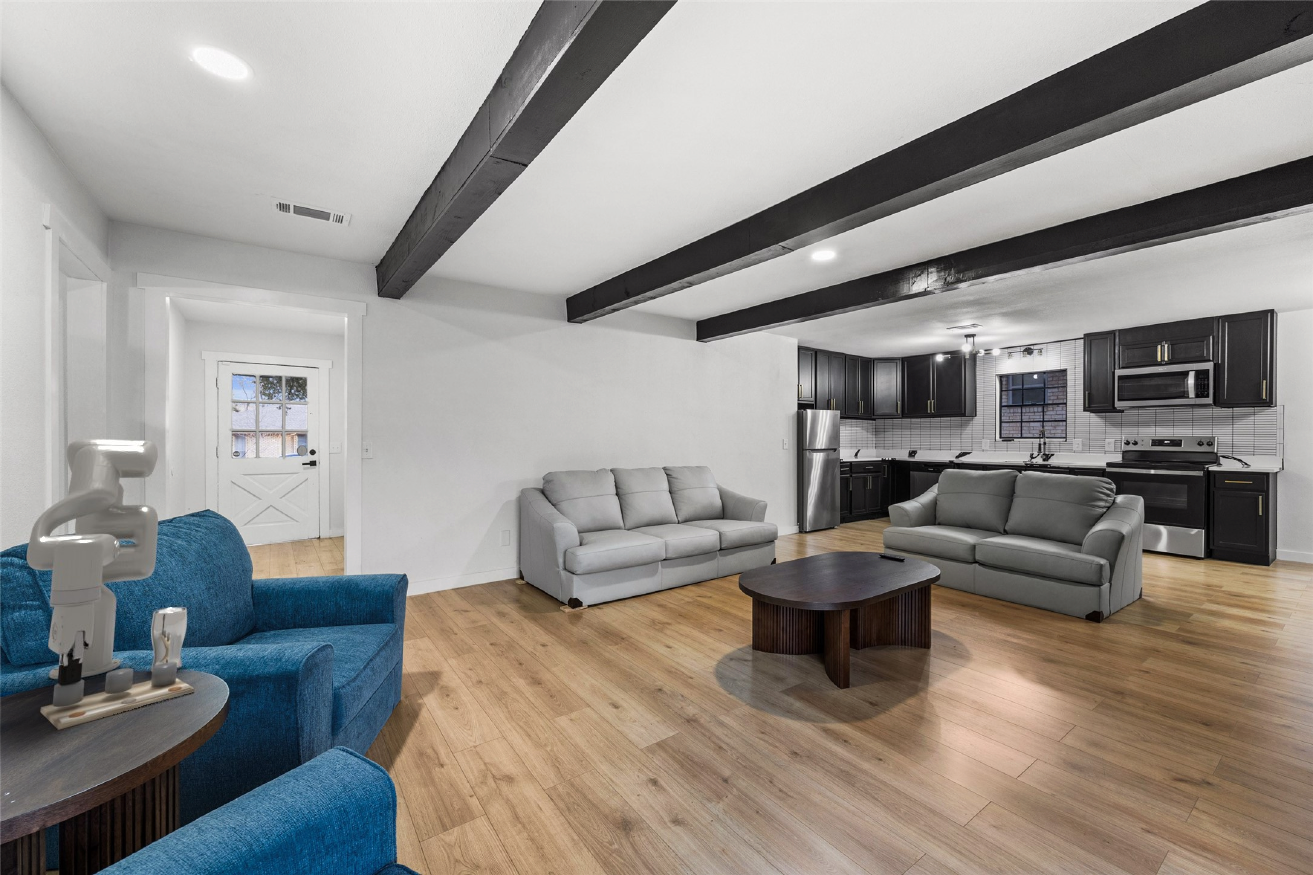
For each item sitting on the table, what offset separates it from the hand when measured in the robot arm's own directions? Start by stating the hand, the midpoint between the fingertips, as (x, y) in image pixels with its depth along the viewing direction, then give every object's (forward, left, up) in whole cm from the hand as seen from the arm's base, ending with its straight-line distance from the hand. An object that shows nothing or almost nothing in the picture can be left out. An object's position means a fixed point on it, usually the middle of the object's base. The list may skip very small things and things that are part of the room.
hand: (69, 682), depth 118 cm
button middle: (0, +8, -4) cm, 9 cm away
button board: (+2, +8, -7) cm, 10 cm away
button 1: (0, 0, -4) cm, 4 cm away
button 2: (0, +16, -5) cm, 17 cm away
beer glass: (-15, +21, -7) cm, 27 cm away
